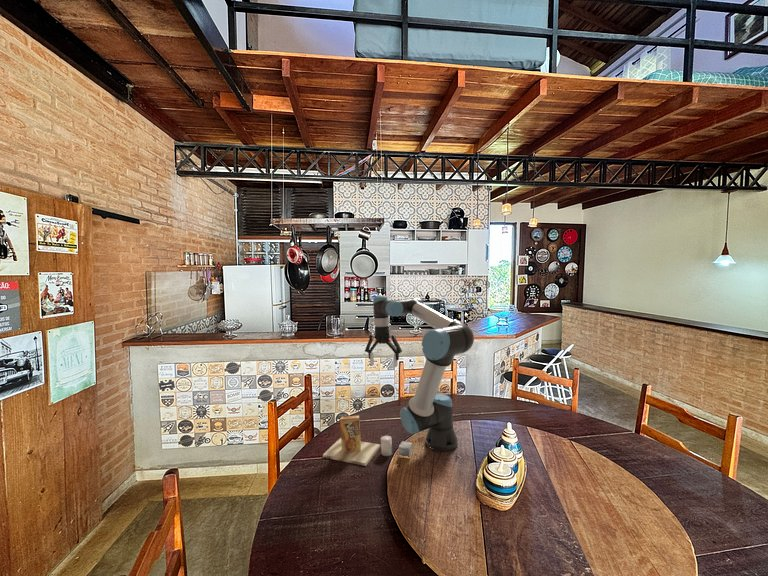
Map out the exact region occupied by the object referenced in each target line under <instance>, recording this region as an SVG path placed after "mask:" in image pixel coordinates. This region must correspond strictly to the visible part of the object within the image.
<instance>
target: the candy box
mask: <svg viewBox="0 0 768 576" xmlns="http://www.w3.org/2000/svg"><path fill="white" fill-rule="evenodd" d="M339 425H340V438H341V442H342V452H351V451H361V441H362V440H361V422H360V415H349V416H348V415H347V416H340V420H339Z"/></svg>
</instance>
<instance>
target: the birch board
mask: <svg viewBox="0 0 768 576" xmlns="http://www.w3.org/2000/svg"><path fill="white" fill-rule="evenodd" d="M379 449H381V443H380V444H379V443H374V442H368V441H362V440H361V451H351V452H342V442H341V437H340V438H339V439H337V440H336V442H334V443H333V444H332V445H331V446H330V447H329V448H328V449H327V450H326V451H325V452H324V453H323V454H322V458H324V457H326V458H325V459H329V458H330V460H335V461H339V462H345V463H349V464H355V465H360V466H365V467H366V466H367V465H368V464H369V463H370V461H372V458H374V456H375V455H376V454H377V452H378V451H379Z"/></svg>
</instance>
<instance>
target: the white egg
mask: <svg viewBox="0 0 768 576" xmlns="http://www.w3.org/2000/svg"><path fill="white" fill-rule="evenodd" d="M392 441H393V440H392V436H390V435H384V436H381V437H380V449H381V450H380V451H381V453H380V454H381V455H382V456H384V457H391V456H392V455H393V442H392Z"/></svg>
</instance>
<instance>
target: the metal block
mask: <svg viewBox="0 0 768 576" xmlns="http://www.w3.org/2000/svg"><path fill="white" fill-rule="evenodd" d="M413 446H414V445H413V442H409V441H404V440H403V441H401V442H400V444H399V446H398V456H399V455H402V456H408V457H410V455H411V453H412V451H413V452H414V447H413Z"/></svg>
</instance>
